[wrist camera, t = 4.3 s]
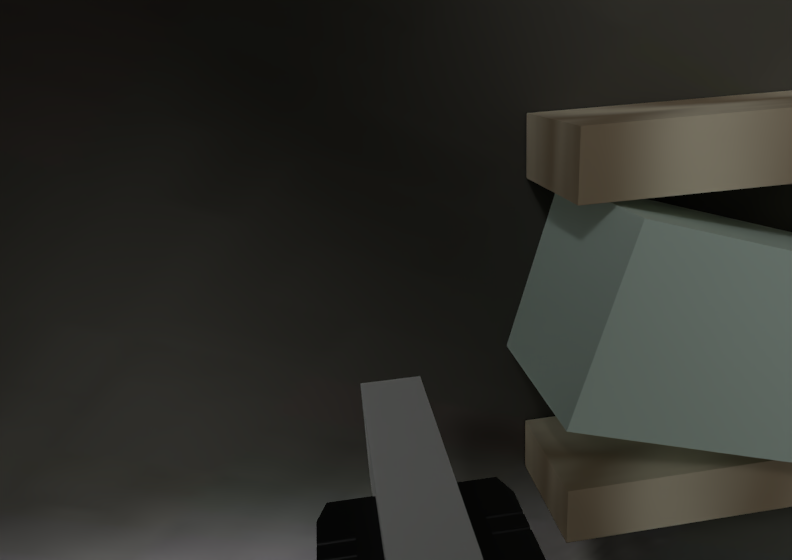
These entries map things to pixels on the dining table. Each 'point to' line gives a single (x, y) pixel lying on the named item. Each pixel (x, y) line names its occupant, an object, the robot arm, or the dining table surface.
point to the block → (661, 327)
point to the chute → (641, 179)
